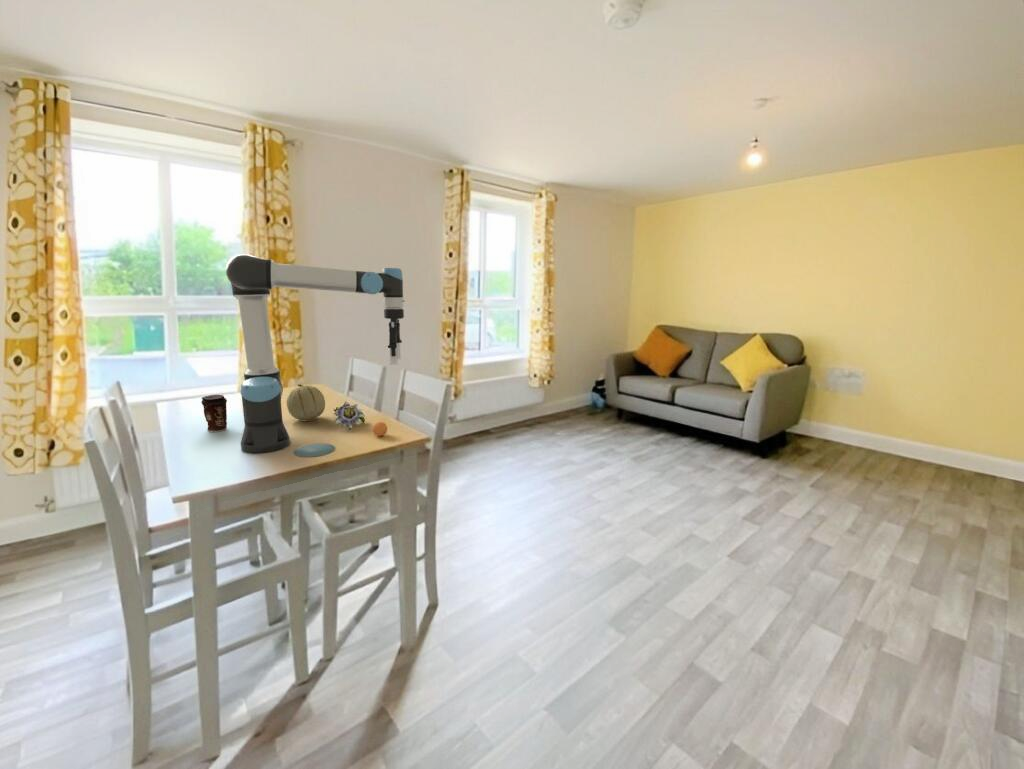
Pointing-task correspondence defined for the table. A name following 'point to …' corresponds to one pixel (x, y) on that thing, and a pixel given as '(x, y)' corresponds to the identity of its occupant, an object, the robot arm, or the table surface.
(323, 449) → the mark
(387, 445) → the table surface
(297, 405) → the cantaloupe
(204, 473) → the table surface
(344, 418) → the passion flower
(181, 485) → the table surface
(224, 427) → the coffee cup
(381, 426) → the ball
